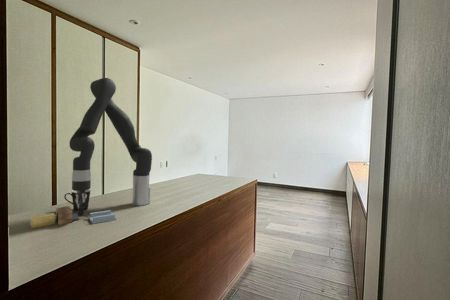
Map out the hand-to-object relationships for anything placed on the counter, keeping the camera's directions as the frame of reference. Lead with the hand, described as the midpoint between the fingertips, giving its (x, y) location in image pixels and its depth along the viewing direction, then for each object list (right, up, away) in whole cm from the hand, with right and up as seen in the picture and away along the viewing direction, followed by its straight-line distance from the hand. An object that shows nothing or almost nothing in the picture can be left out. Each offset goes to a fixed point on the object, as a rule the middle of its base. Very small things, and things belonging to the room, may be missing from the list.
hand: (80, 215), depth 113 cm
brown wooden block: (-5, -1, -4) cm, 7 cm away
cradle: (+10, -2, +1) cm, 10 cm away
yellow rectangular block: (-11, -2, -9) cm, 14 cm away
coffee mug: (-10, -1, +14) cm, 17 cm away
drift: (-5, -1, -3) cm, 6 cm away
